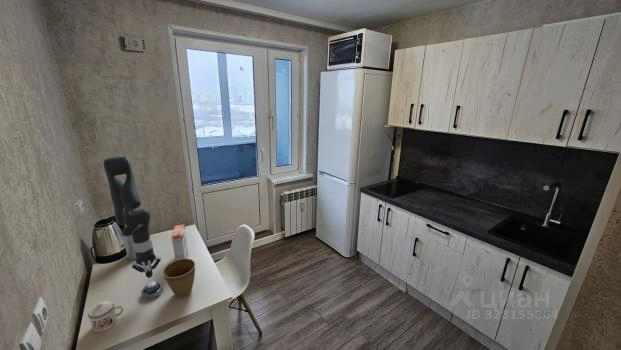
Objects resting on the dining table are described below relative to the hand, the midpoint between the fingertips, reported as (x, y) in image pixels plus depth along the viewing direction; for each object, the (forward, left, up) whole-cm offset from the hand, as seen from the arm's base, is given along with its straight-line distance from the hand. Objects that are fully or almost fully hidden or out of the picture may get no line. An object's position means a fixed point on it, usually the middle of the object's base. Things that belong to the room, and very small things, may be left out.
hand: (149, 276), depth 131 cm
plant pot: (+8, +14, -10) cm, 19 cm away
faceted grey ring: (0, 0, -10) cm, 10 cm away
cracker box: (-25, +16, -10) cm, 32 cm away
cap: (0, 0, -10) cm, 10 cm away
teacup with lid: (+12, -17, -10) cm, 23 cm away
